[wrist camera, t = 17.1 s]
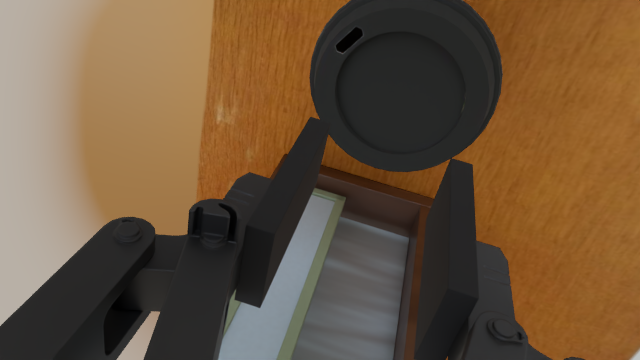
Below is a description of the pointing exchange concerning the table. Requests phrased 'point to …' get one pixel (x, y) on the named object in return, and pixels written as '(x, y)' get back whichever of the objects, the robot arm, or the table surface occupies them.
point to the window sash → (285, 289)
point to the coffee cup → (405, 80)
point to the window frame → (367, 274)
